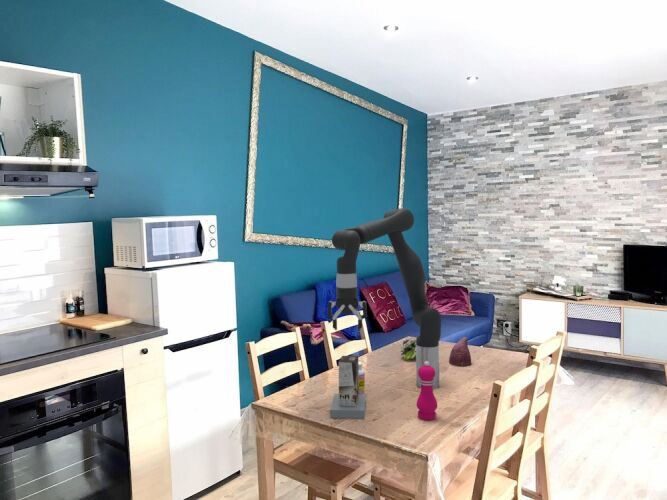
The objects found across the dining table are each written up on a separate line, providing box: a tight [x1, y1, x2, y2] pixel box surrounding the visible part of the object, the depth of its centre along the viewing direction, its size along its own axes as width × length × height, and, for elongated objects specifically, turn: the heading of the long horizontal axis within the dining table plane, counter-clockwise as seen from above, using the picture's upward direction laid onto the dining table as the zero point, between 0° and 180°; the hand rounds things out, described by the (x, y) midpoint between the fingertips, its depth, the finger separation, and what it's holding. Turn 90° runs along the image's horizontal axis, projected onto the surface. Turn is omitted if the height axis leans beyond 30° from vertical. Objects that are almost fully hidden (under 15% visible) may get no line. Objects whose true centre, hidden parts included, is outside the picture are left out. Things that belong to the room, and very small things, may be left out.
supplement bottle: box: [358, 360, 366, 394], centre depth 202 cm, size 7×7×13 cm
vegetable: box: [448, 336, 472, 368], centre depth 241 cm, size 10×10×15 cm
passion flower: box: [399, 339, 416, 361], centre depth 251 cm, size 11×11×12 cm
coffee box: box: [338, 355, 359, 406], centre depth 186 cm, size 9×6×16 cm
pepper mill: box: [416, 361, 438, 421], centre depth 178 cm, size 7×7×20 cm
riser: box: [329, 393, 367, 420], centre depth 187 cm, size 12×16×3 cm
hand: (347, 329), depth 185 cm, fingers open, 8 cm apart
